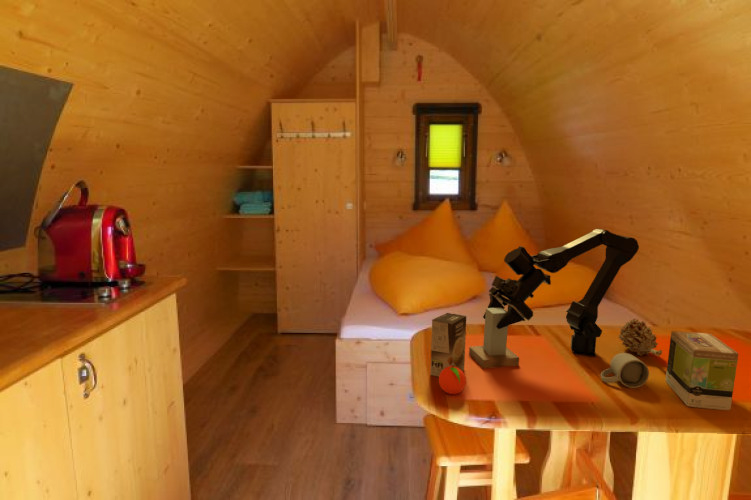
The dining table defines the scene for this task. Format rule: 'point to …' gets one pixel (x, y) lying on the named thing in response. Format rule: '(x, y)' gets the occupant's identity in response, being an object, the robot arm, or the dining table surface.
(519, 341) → the dining table surface
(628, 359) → the ceramic mug
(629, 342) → the pine cone
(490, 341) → the wooden block
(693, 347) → the tea box
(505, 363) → the walnut slab
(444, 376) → the red tomato
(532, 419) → the dining table surface
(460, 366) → the coffee box
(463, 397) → the dining table surface
